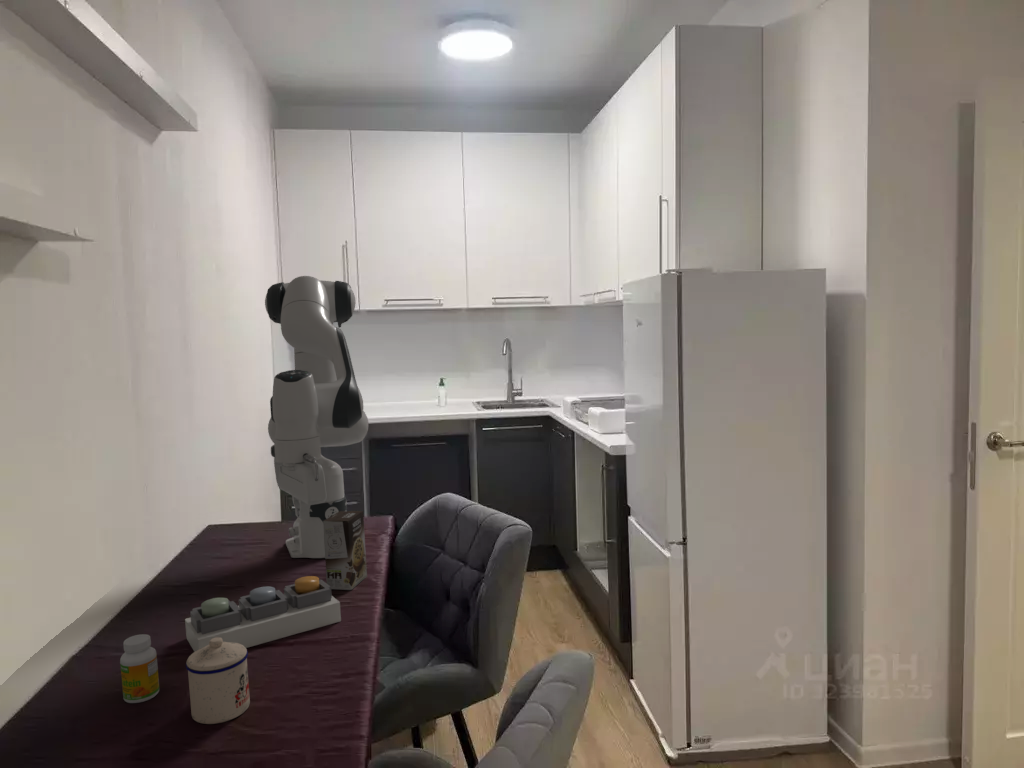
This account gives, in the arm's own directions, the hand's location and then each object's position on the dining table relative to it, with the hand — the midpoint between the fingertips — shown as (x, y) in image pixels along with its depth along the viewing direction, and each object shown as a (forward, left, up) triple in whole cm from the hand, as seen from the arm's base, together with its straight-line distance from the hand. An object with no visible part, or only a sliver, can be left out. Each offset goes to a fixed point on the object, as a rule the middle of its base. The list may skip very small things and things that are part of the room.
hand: (302, 517), depth 148 cm
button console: (0, -9, -21) cm, 23 cm away
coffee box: (-14, +14, -21) cm, 29 cm away
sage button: (0, -18, -15) cm, 23 cm away
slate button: (0, -9, -15) cm, 18 cm away
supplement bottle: (+13, -33, -21) cm, 41 cm away
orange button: (0, 0, -15) cm, 15 cm away
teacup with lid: (+25, -23, -21) cm, 40 cm away
